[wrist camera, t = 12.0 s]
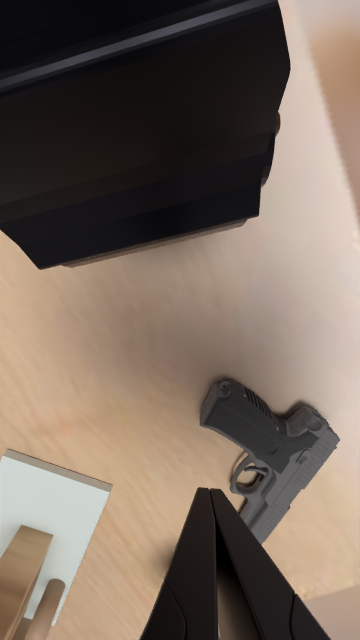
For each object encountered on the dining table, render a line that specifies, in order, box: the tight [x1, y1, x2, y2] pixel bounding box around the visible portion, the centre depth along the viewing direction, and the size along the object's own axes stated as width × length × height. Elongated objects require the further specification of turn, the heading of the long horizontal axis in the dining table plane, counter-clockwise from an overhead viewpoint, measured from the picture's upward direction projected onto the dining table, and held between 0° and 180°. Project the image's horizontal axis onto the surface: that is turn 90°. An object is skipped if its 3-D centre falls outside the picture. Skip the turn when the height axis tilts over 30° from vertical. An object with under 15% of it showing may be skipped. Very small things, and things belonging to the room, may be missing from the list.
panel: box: [0, 449, 112, 640], centre depth 25 cm, size 23×11×5 cm, turn 158°
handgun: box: [200, 378, 340, 544], centre depth 23 cm, size 3×16×12 cm
